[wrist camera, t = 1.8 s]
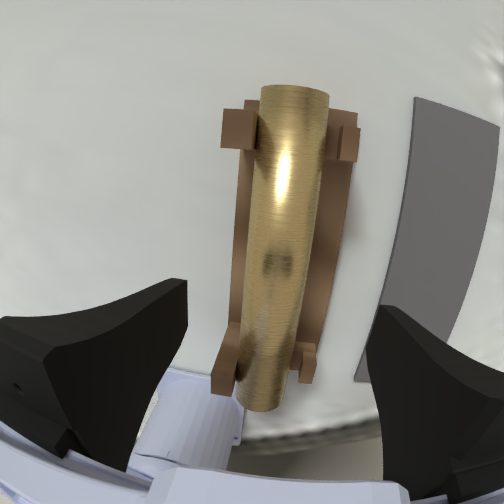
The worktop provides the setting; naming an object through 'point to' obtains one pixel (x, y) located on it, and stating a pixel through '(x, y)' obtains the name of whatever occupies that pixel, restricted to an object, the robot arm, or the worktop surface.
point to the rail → (279, 238)
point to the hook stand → (323, 245)
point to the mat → (439, 217)
